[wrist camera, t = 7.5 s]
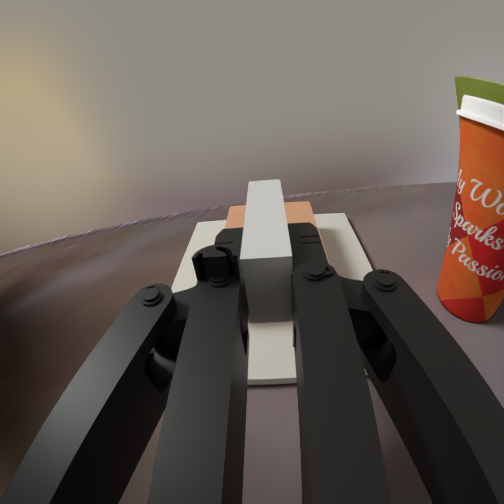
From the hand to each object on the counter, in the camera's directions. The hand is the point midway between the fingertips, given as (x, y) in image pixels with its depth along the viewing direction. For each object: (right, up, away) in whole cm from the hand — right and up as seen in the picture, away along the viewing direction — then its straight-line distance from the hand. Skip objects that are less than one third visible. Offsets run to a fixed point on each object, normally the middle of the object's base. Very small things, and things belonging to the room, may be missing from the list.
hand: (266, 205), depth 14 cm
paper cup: (+16, -6, +3) cm, 17 cm away
